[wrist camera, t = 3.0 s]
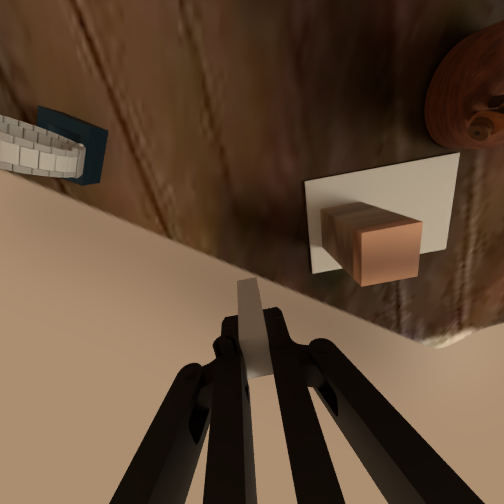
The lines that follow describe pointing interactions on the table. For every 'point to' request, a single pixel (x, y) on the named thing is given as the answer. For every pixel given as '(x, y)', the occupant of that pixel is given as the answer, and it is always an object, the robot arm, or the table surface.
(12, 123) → the watch
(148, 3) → the table surface
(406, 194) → the mat
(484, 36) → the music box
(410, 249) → the walnut block
